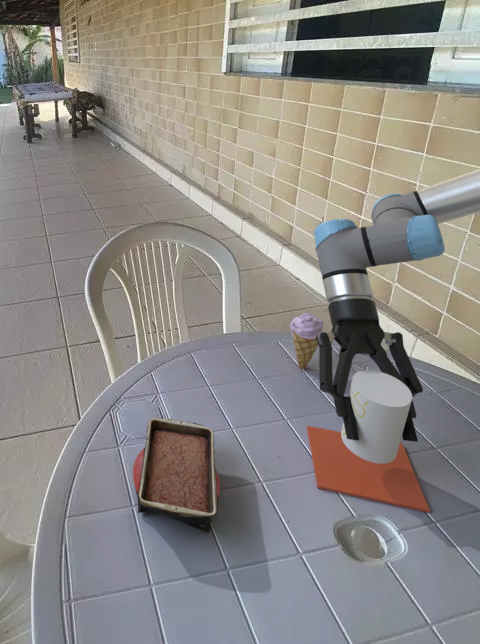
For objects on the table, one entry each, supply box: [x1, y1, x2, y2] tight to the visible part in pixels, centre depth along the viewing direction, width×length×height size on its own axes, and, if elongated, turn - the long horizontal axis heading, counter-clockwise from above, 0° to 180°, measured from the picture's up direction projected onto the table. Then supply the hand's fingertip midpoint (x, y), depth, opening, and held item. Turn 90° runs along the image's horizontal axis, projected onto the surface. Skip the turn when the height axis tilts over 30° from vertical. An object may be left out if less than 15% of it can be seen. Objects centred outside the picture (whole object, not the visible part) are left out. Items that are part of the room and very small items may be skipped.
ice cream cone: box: [289, 311, 324, 370], centre depth 96 cm, size 7×6×15 cm
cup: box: [340, 369, 413, 464], centre depth 70 cm, size 8×8×12 cm
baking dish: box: [132, 417, 221, 533], centre depth 71 cm, size 14×18×10 cm
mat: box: [306, 425, 431, 514], centre depth 75 cm, size 16×13×1 cm
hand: (381, 440), depth 68 cm, fingers closed on cup, 8 cm apart
